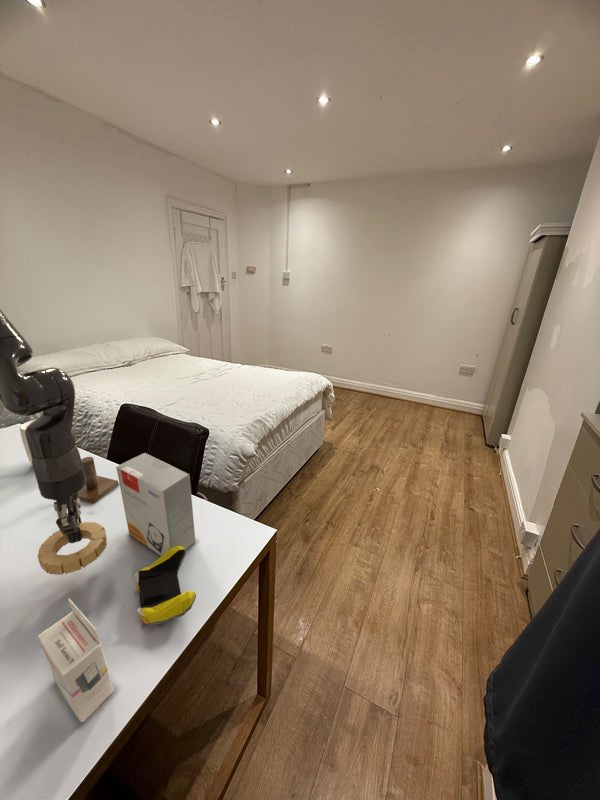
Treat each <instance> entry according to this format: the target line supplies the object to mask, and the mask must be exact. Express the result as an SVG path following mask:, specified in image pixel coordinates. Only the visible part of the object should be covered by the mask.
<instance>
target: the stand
mask: <svg viewBox="0 0 600 800" xmlns="http://www.w3.org/2000/svg"><path fill="white" fill-rule="evenodd" d="M81 462H82V466H83V471H84V475H85V479H86V483H85V486H84V487H83V488H82V489H81V490H80V491H79V493H80V495H79V498H80V502H85V503H89V504H95V503H97V502H98V501H99V500H101V499H102V498H103V497H104V496H106V495H107V494H109V493H110V492H112V491H113V490H114V489H115V488H116V487H118V486H120V483H119V480H118V479H117V480H116V479H113V478H109V477H104V476H101V475H98V473H97V469H96V465H95V461H94V457H93V456H86V457H83V458H81Z"/></svg>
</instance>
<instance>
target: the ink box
mask: <svg viewBox="0 0 600 800" xmlns="http://www.w3.org/2000/svg"><path fill="white" fill-rule="evenodd" d="M67 601H68V603H69V605H70V607H71V609H72V611H71V612H69V613H68V614H66V615H65V616H63V617H62V618H61V619H59V620H58V621H56V622H54V623H53V624H52V625H50V626H49V627H47V628H46V629H45V630H44V631H42V632H41V633H39V634H38V635H37V639H38V641H39V644H40V646H41V649H42V651H43V654H44V656H45V658H46V662H47V663H48V666H49V668H50V672H51V674H52V677H53V679H54V681H55V685H56V687H57V688H58V689H59V691H60V693H61V694H62V696H63V698H64V699H65V700H66V702H67V704H68V705H69V707H70V708H71V709H72V711H73V713H74V715H75V716H76V717H77V719H78V721H79V722H80V723H84V722H86V720H87V719H88V718H89V717H90V716H91V715H92V714H93V713H94V712H95V711H96V710H97V709H98V708H99V707H100V706H101V704H103V702H105V701H106V699H108V697H110V696H111V695H112V693H113V692H114V691H115V689H114V686H113V683H112V679H111V676H110V673H109V668H108V665H107V661H106V658H105V653H104V651H103V647H102V644H101V641H100V638H99V635H98V632H97V630H96V628H95V627H94V625H93V624H92V623H91V621H90V620H89V619H88V617H86V616H85V615H84V613H83V612H82V611H81V609H79V608H78V606H77V605H76V604H75V603H74V601H72V600H71V599H70V598H68V599H67Z"/></svg>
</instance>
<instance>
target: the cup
mask: <svg viewBox="0 0 600 800" xmlns="http://www.w3.org/2000/svg"><path fill="white" fill-rule="evenodd" d="M35 420H36V419H32V420H29V421H26V422H24V423H22V424H21V425H20V426H19V431H20V436H21V437H20V438H21V440H22V444H23V448H24V450H25V453H26V456H27V458H28V461H29V464H30V465H31V466H32V457H31V453H30V450H29V446H28V443H27V440H26V436H25V430H26V428H27V426H28V425H29V424H31V423H32V422H33V421H35Z"/></svg>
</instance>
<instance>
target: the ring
mask: <svg viewBox="0 0 600 800" xmlns="http://www.w3.org/2000/svg"><path fill="white" fill-rule="evenodd" d="M79 527H80V531H81V535H82V539H86V540H89V542H88V543H87V545H86V546H84V547H83V548H80V549H79V550H78V551H76V552H73V553H69V554H58V552H59V551H60V550H61V549H62V548H63V547H64V546H66V545H68V544H70V543H69V539H68V536H67V534H66V535H63V534H62V532H61V531H60V529H59V530H57V531H55V532H54V533H52V534H51V535H49V536H48V537H47V538H46V539H45V540H44V541H43V542H42V544H41V545H40V547H39V548H38V553H37V560H38V563H39V566H40V568H41V569H42V570H43V571H44V572H45V573H46V574H49V575H59V576H60V575H61V576H63V575H68V574H70V573H73V572H77V571H80V570H82V568H83V569H84V568H86V567H87V566H89V565H90V564H92V563H93V562H95V561H96V560H98V558H100V557H101V555H102V554H103V553H104V551H105V550H106V548H107V533H106V529H105V527H104V526H102V524H100V523H99V522H95V521H94V522H92V521H83V522H82V521H81V523H80V526H79Z"/></svg>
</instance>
